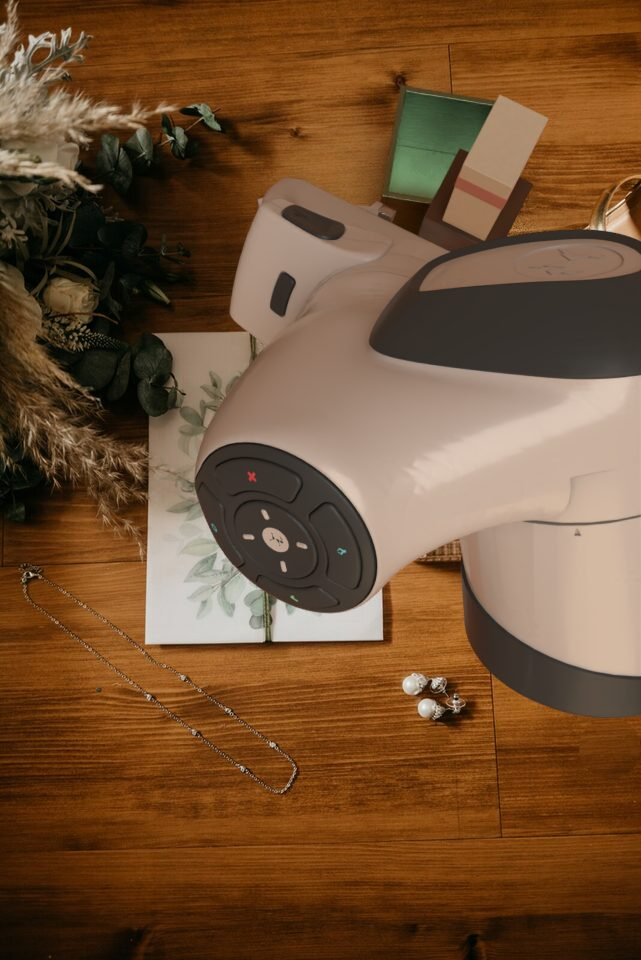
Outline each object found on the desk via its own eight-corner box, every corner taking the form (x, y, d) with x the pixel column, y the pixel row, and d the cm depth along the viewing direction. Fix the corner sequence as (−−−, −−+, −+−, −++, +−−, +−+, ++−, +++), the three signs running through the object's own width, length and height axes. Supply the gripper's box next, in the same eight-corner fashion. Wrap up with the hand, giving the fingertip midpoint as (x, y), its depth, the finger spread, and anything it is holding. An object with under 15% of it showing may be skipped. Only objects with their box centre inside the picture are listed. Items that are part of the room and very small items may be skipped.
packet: (516, 180, 61) (550, 117, 52) (484, 242, 60) (513, 189, 51) (472, 159, 61) (499, 92, 52) (440, 220, 60) (462, 164, 52)
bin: (492, 158, 85) (516, 103, 75) (476, 256, 84) (499, 215, 73) (390, 141, 85) (400, 84, 75) (374, 239, 84) (381, 195, 74)
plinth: (475, 282, 84) (534, 183, 61) (448, 334, 83) (497, 254, 60) (421, 255, 84) (460, 147, 61) (394, 307, 83) (423, 217, 61)
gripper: (626, 384, 33) (626, 278, 43) (229, 187, 34) (324, 131, 44) (553, 479, 37) (569, 362, 47) (201, 302, 38) (293, 225, 48)
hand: (448, 249), depth 46 cm, fingers open, 8 cm apart
